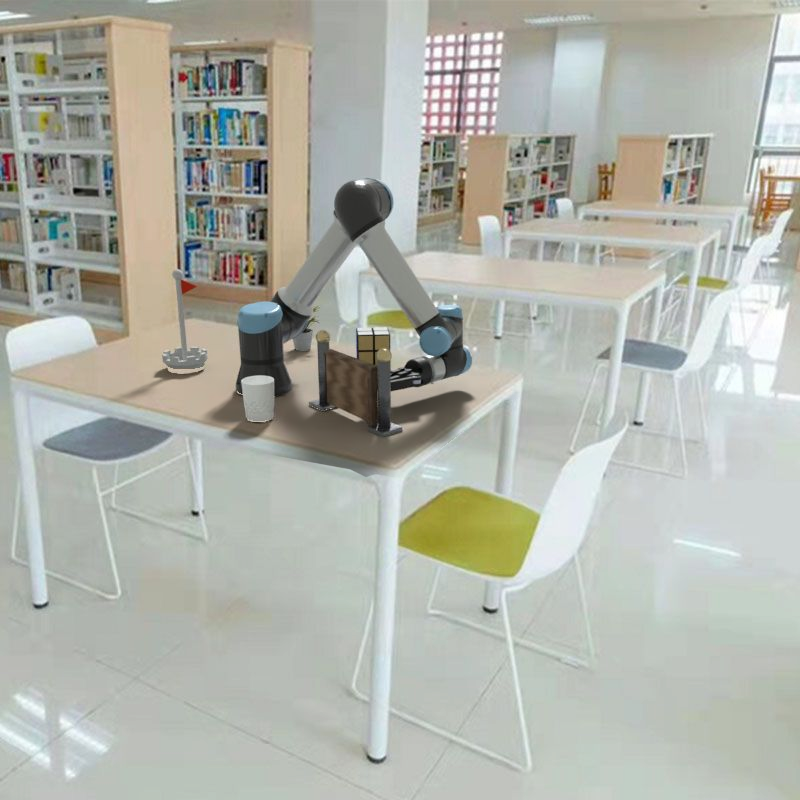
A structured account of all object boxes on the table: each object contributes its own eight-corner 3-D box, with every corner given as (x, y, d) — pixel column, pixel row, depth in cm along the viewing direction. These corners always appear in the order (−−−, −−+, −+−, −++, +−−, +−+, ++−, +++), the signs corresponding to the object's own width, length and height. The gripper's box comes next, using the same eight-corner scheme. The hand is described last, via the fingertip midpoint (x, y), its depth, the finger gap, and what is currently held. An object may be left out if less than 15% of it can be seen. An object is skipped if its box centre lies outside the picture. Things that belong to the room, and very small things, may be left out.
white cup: (275, 423, 186) (272, 384, 183) (242, 424, 185) (239, 385, 182) (277, 413, 193) (275, 374, 190) (245, 413, 193) (243, 375, 190)
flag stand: (160, 376, 224) (150, 273, 214) (166, 364, 236) (157, 266, 227) (206, 374, 226) (198, 272, 216) (210, 362, 238) (202, 265, 228)
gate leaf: (326, 404, 196) (324, 349, 192) (332, 403, 197) (330, 348, 193) (371, 426, 181) (371, 367, 177) (377, 424, 182) (377, 365, 178)
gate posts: (309, 405, 199) (306, 330, 192) (327, 400, 202) (325, 326, 196) (382, 436, 177) (382, 353, 171) (402, 430, 181) (402, 348, 175)
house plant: (326, 354, 246) (325, 304, 241) (283, 356, 245) (280, 305, 239) (324, 343, 260) (323, 296, 255) (283, 345, 258) (281, 297, 253)
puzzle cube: (356, 358, 243) (355, 327, 240) (388, 357, 244) (387, 326, 240) (357, 367, 233) (357, 335, 230) (390, 366, 234) (390, 334, 231)
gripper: (442, 389, 199) (372, 411, 184) (407, 379, 208) (338, 399, 194) (441, 361, 196) (371, 381, 182) (406, 352, 206) (336, 371, 191)
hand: (354, 391), depth 188 cm, fingers closed, pressing on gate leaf
